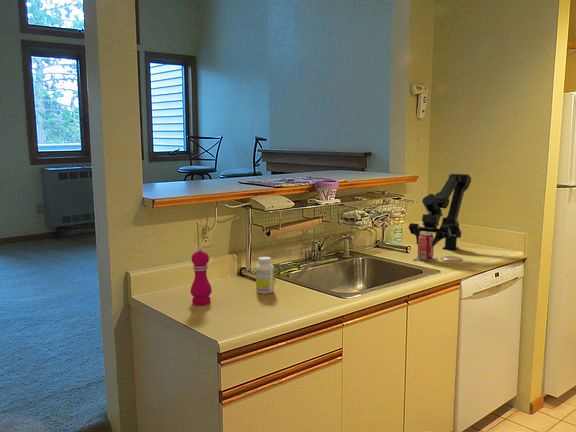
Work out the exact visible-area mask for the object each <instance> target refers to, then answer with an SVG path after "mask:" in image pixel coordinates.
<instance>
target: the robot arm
mask: <svg viewBox="0 0 576 432" xmlns="http://www.w3.org/2000/svg"><path fill="white" fill-rule="evenodd" d="M471 182H472V177H471V176H470V175H469V174H465V173H450V174H449V175H448V178H447V180H446V181H445V183H444V185H443V186H442V188H441V190H440V191H438V192H437V193H435V194H434V193H429V194H428V195H425V196H424V197H423V198H422V201H421V202H422V204H423V206H424V208H425V210H426V212H428V213H427V214H425V213H424V214H422V216H421V217H422V218H421V222H422V226H420V225H419V223H415V222H414V223H413V222H411V223H409V225H408V230H409V232H410V234H411V235H414V236H415V238H416V239H415V240H416V245H417V246H418V237H419V235H420V233H422V232H424V233H432V234H435V235H434V241H433V244H432V246H434V247H435V246H436V245H437V244H438V243H439V242H441V240H444V246H443V247H442V249H443V250H444V249H445V250H450V251H451V250H452V251H457V250H458V249H459V248H460V247H459V246H457V245H458V244H457V242H458V239H460V238H461V237H462V231H461V228H460V222H459V220H458V218H459V217H458V216H459V213H460V208H461V204H462V201H463V196H464V193H465V192H466V191H467V190H468V189H469V187H470V184H471ZM451 195H452V198H451V201H450V196H451ZM449 204H450V206H449ZM448 206H449V208H448ZM447 208H448V209H449V210H448V214H447V216H446V217H443V213H442V212H443V210H442V209H444V210H445V209H447ZM441 217H443V218H442V222H441V224H440V218H441ZM439 225H440V226H439ZM438 226H439V228H438Z"/></svg>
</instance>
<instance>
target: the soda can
mask: <svg viewBox="0 0 576 432" xmlns="http://www.w3.org/2000/svg"><path fill="white" fill-rule="evenodd" d="M433 234H434V233H432V232H420V235H419V237H418V245H417V257H418V258H419V259H421V260H431V259H432V258H434V250H435V249H434V247H435V246H432V244H433V241H434V238H435V236H433Z"/></svg>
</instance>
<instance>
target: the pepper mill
mask: <svg viewBox="0 0 576 432" xmlns="http://www.w3.org/2000/svg"><path fill="white" fill-rule="evenodd" d="M209 261H210V257H209V254H208V253H207V251H204V250H203V247H202V246H198V247H197V251H195V252H194V253H192V255H191V262H192V264H193V266H192V267H193V268H192V270H193V271H194V278H193V282H192V283H191V286H190V294H191V296H192V301H191V302H192V304H193V305H194V306H199V307H200V306H201V307H202V306H207V305H210V304H211V297H210V295H211V294H212V293H213V292H212V291H213V290H212V285H211V283H210V280H209V279H208V276H207V275H208V274H207V270H208V269H209V266H208V263H209Z"/></svg>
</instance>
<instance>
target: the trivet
mask: <svg viewBox="0 0 576 432" xmlns="http://www.w3.org/2000/svg"><path fill="white" fill-rule="evenodd" d="M439 260H441V261H443V262H448V263H449V262H451V263H455V262H456V263H458V262H462V261H463V258H462V257H460V256H454V255H444V256H443V255H442V256H440V257H439Z"/></svg>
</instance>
